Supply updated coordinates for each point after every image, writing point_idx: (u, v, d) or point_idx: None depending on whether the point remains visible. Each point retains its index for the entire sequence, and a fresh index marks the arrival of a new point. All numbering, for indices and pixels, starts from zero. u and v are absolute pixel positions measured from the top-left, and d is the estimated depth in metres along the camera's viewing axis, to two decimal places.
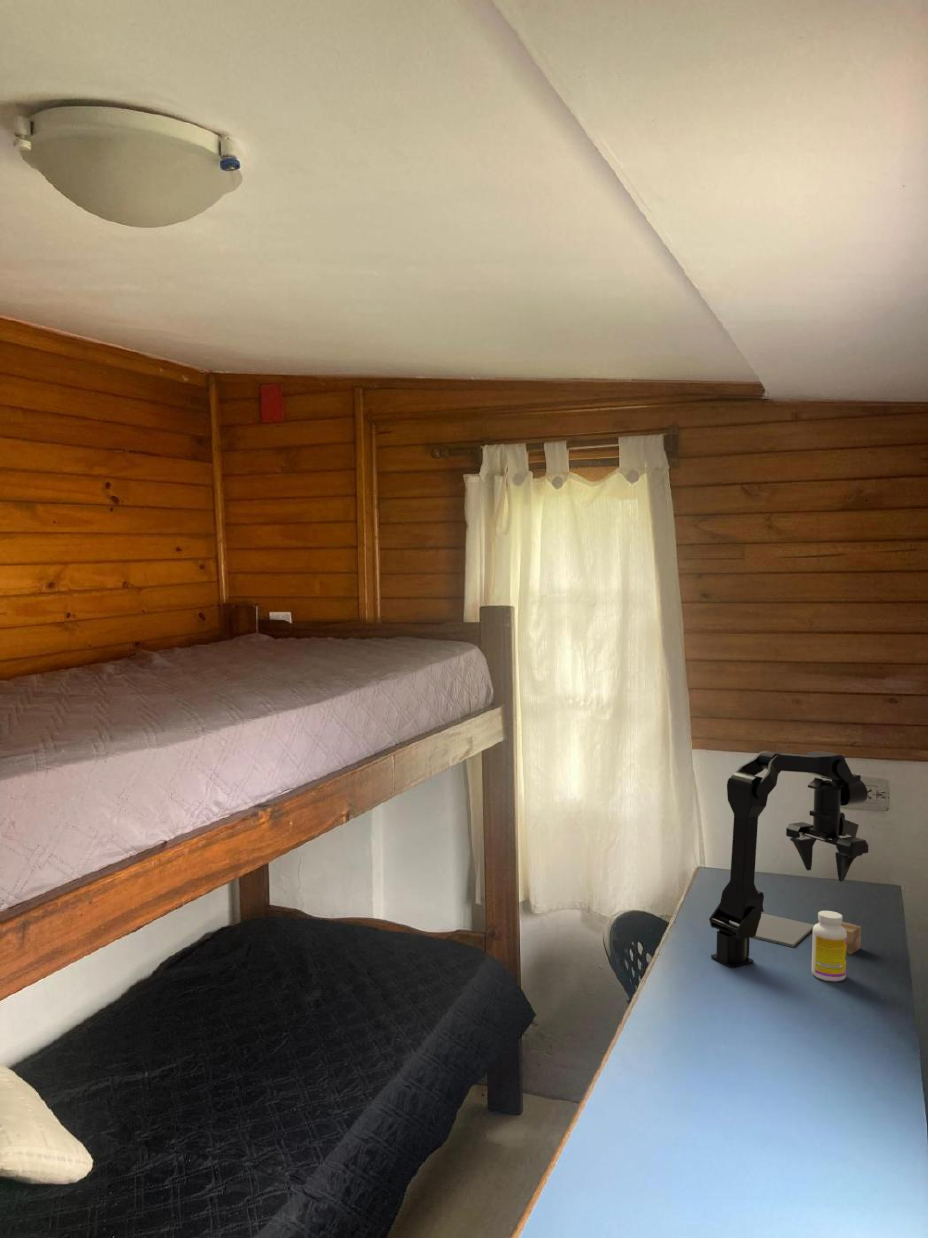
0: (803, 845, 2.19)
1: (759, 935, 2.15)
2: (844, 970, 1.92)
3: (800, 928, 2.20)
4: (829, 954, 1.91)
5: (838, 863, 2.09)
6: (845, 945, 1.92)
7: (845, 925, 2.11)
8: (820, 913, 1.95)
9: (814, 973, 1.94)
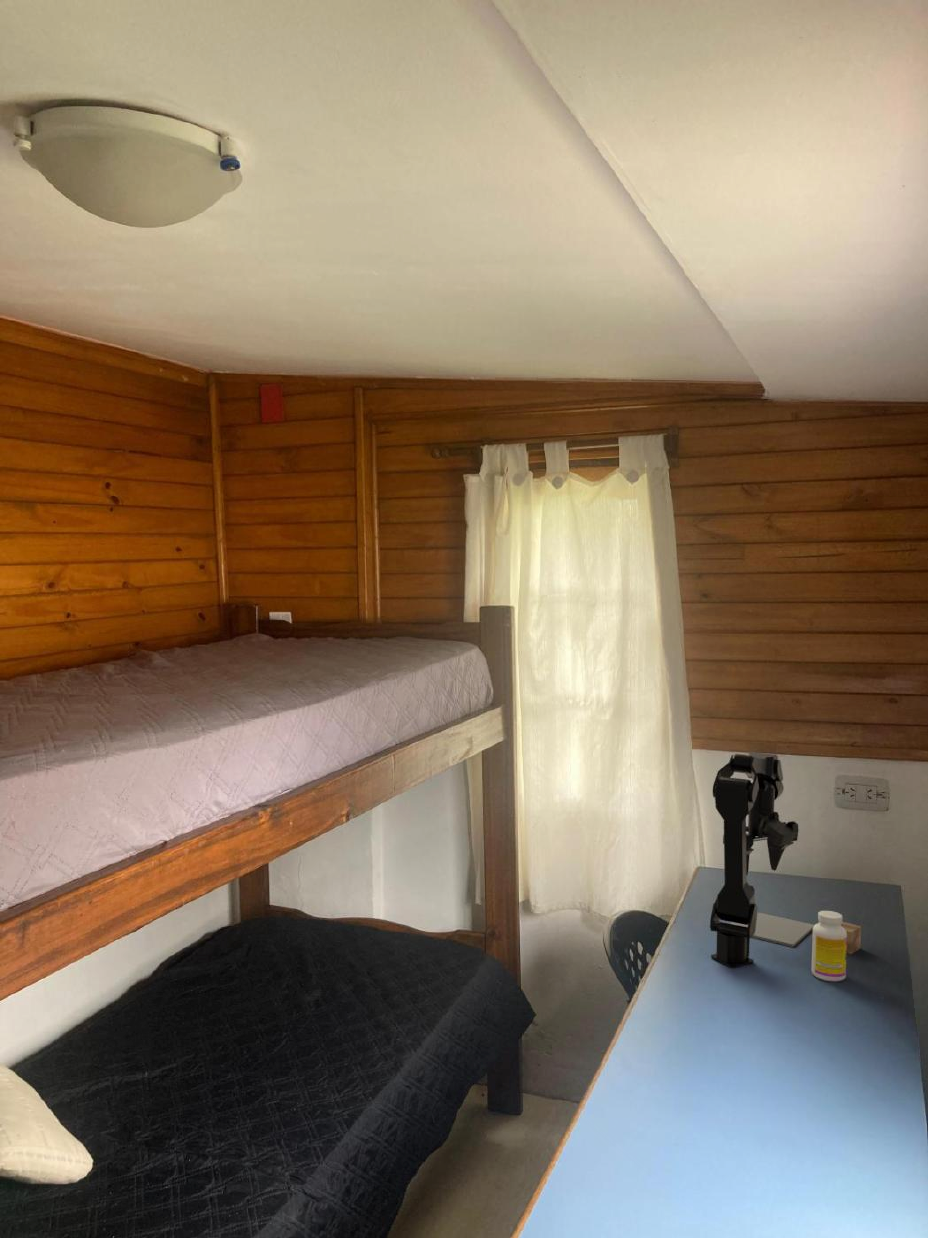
0: (770, 843, 2.25)
1: (759, 935, 2.15)
2: (844, 970, 1.92)
3: (800, 928, 2.20)
4: (829, 954, 1.91)
5: None
6: (845, 945, 1.92)
7: (845, 925, 2.11)
8: (820, 913, 1.95)
9: (814, 973, 1.94)
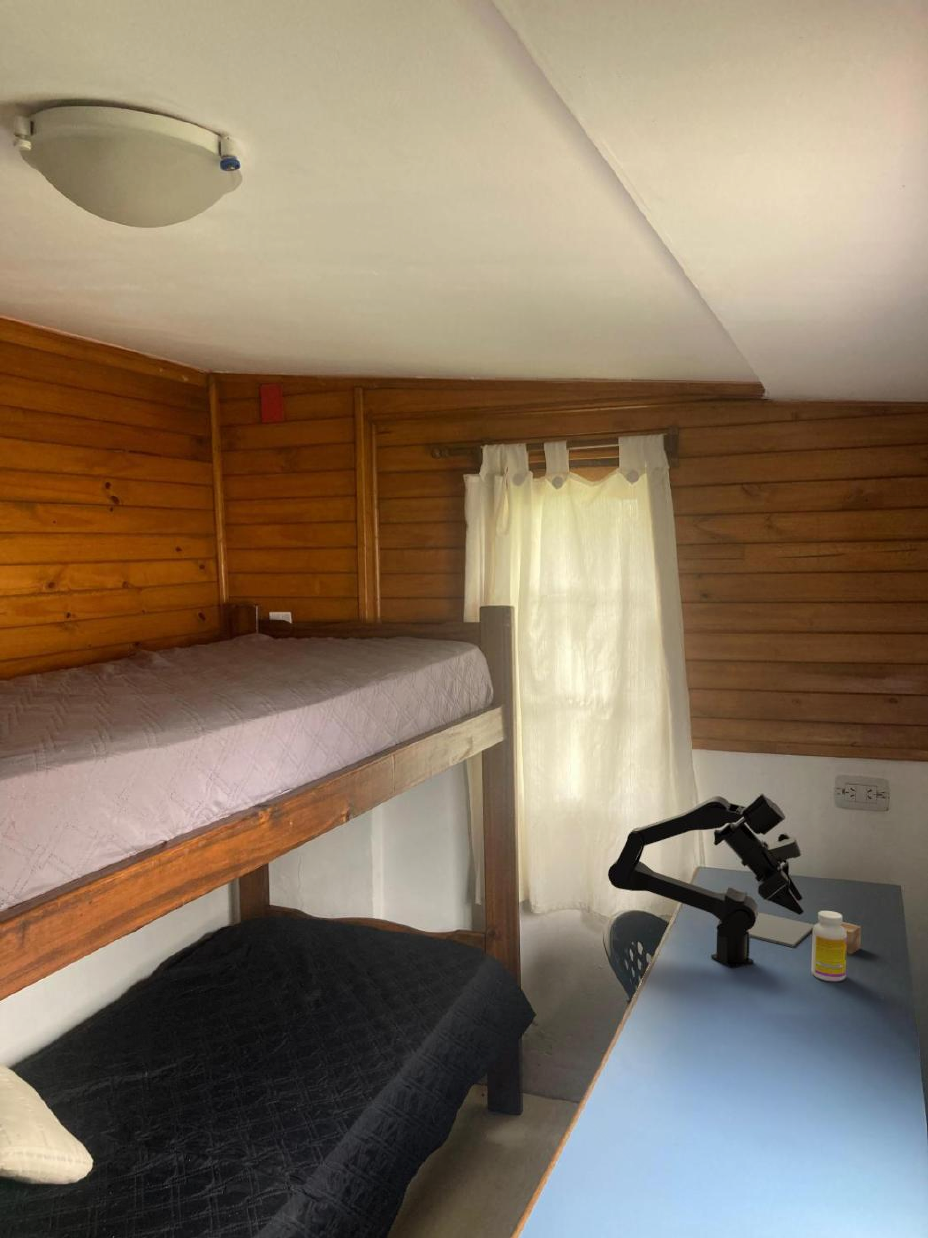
0: None
1: (759, 935, 2.15)
2: (844, 970, 1.92)
3: (800, 928, 2.20)
4: (829, 954, 1.91)
5: None
6: (845, 945, 1.92)
7: (845, 925, 2.11)
8: (820, 913, 1.95)
9: (814, 973, 1.94)
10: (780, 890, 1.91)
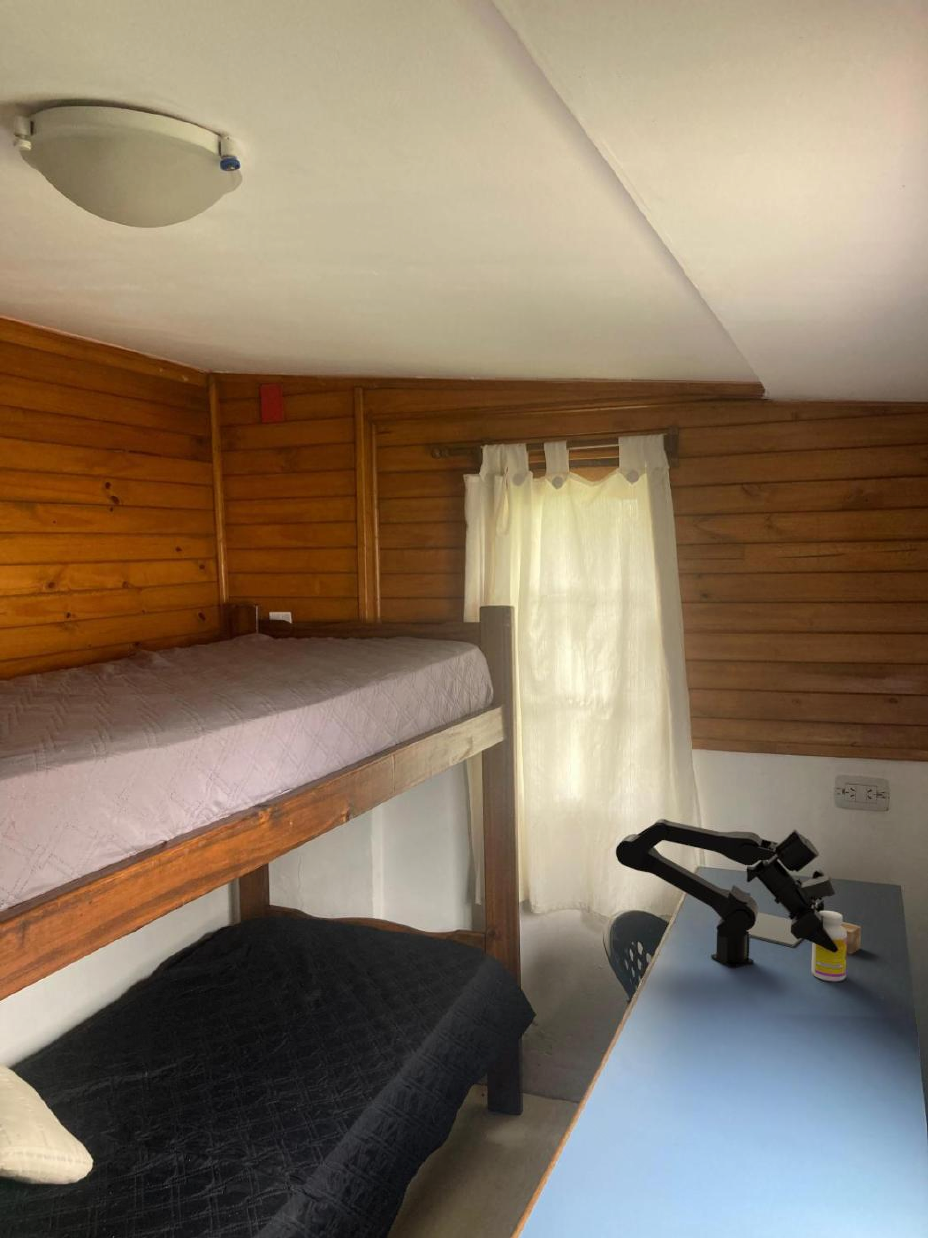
0: None
1: (759, 935, 2.15)
2: (844, 970, 1.92)
3: None
4: (829, 954, 1.91)
5: None
6: (845, 945, 1.92)
7: (845, 925, 2.11)
8: (820, 913, 1.95)
9: (814, 973, 1.94)
10: (813, 928, 1.89)
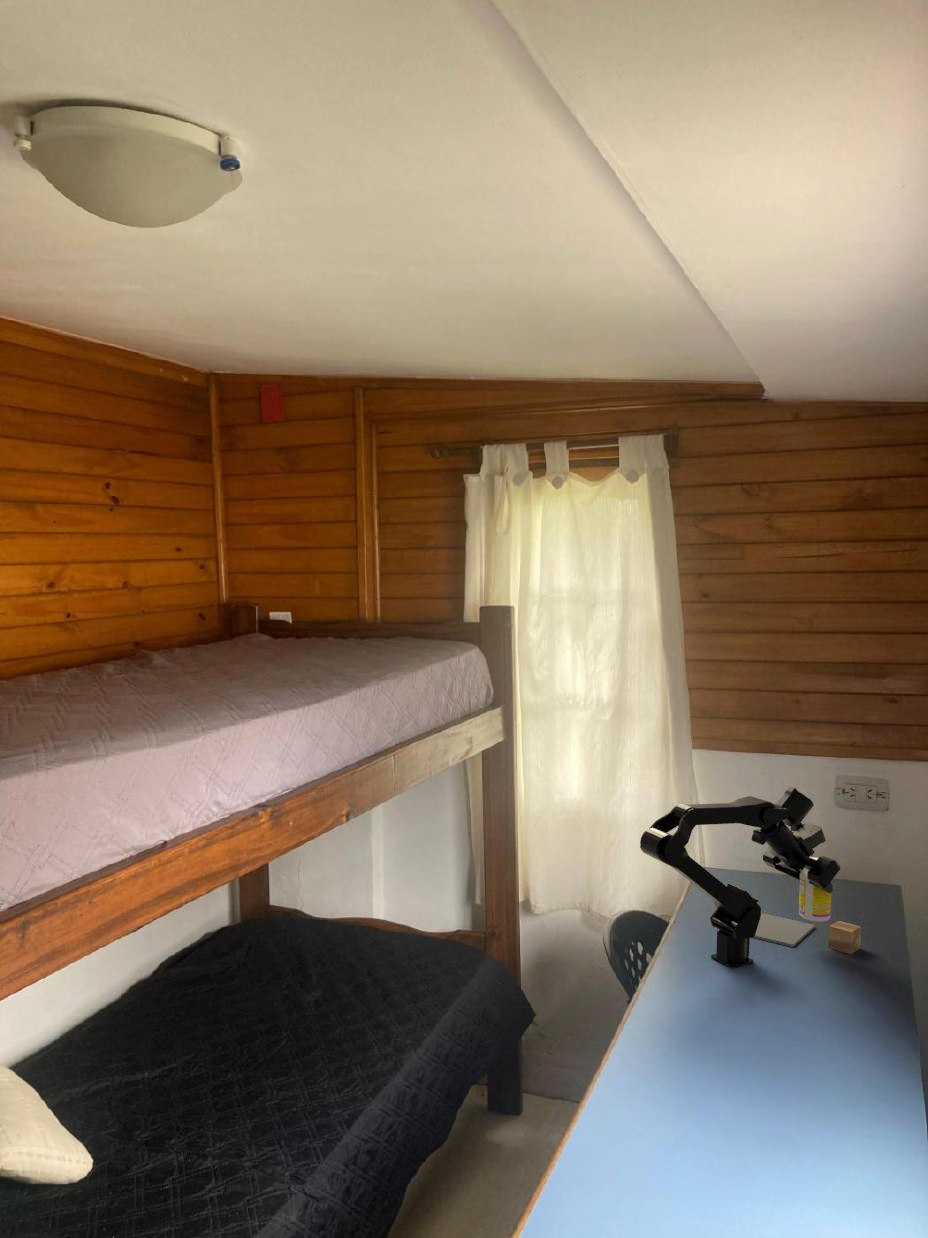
0: (789, 870, 2.12)
1: (759, 935, 2.15)
2: None
3: (800, 928, 2.20)
4: (826, 896, 2.07)
5: None
6: None
7: (845, 925, 2.11)
8: None
9: (811, 917, 2.07)
10: None
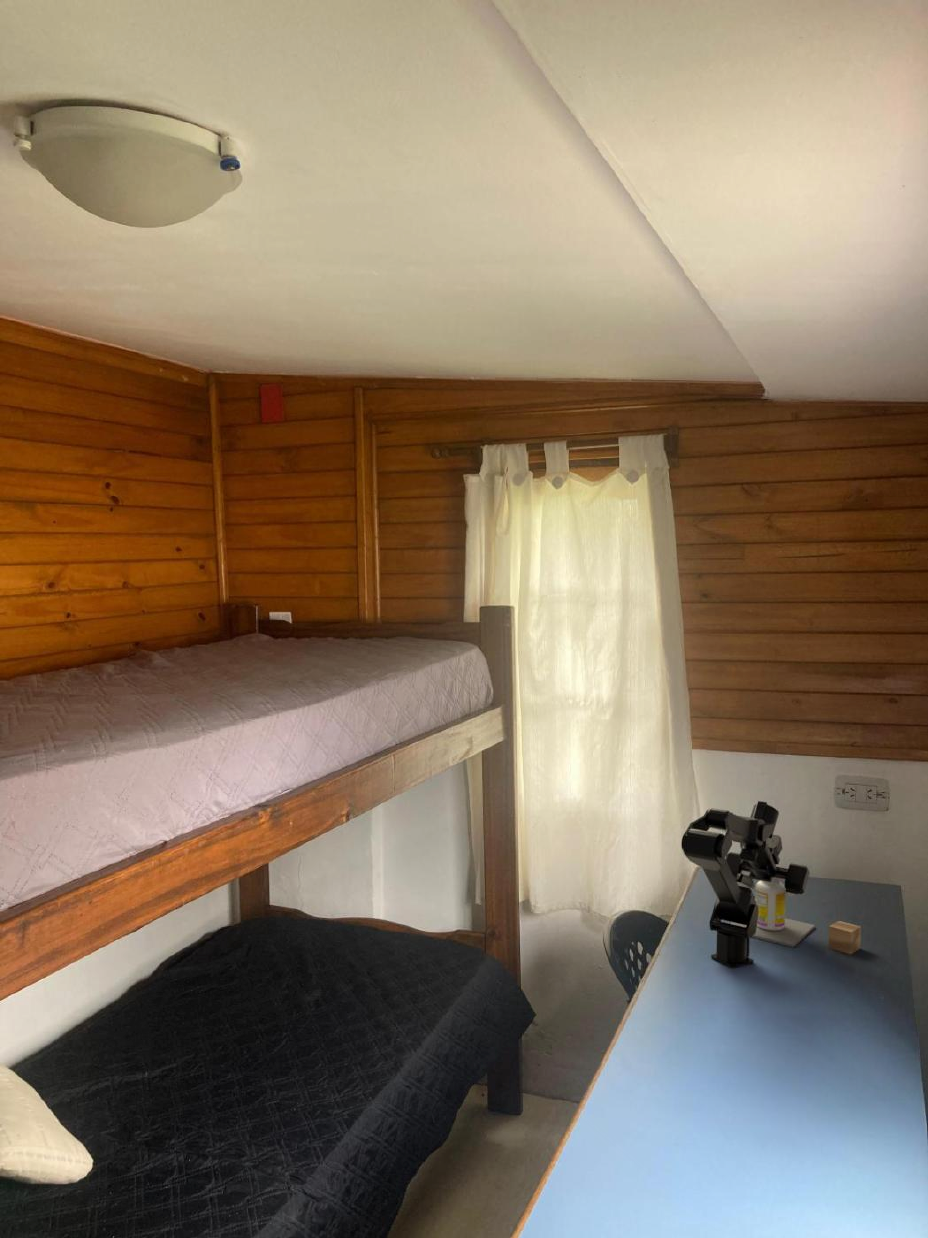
0: (744, 879, 2.21)
1: (759, 935, 2.15)
2: None
3: (800, 928, 2.20)
4: (784, 905, 2.19)
5: (789, 894, 2.15)
6: None
7: (845, 925, 2.11)
8: None
9: (773, 928, 2.18)
10: None
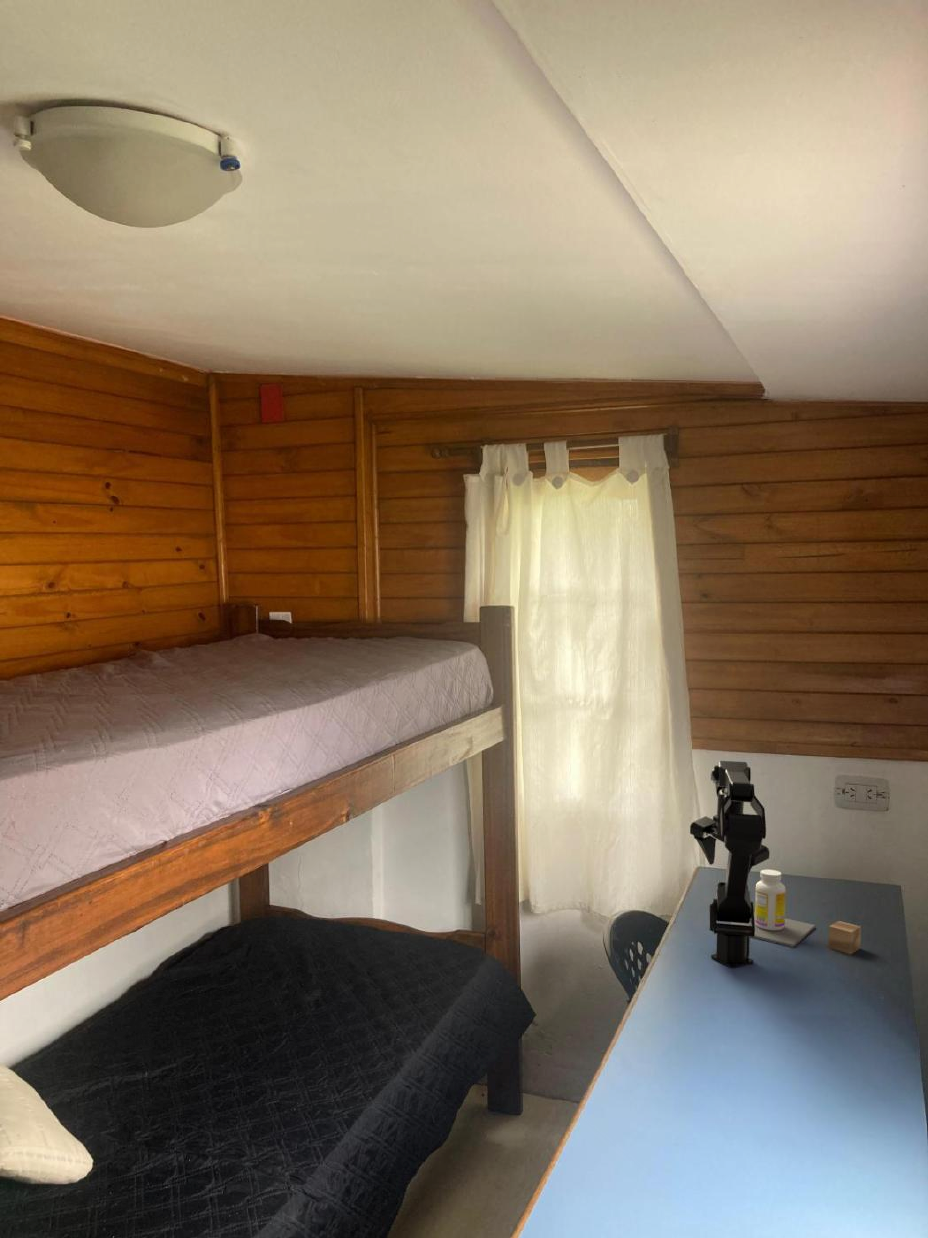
0: (706, 843, 2.20)
1: (759, 935, 2.15)
2: None
3: (800, 928, 2.20)
4: (784, 905, 2.19)
5: None
6: None
7: (845, 925, 2.11)
8: (769, 874, 2.19)
9: (773, 928, 2.18)
10: None
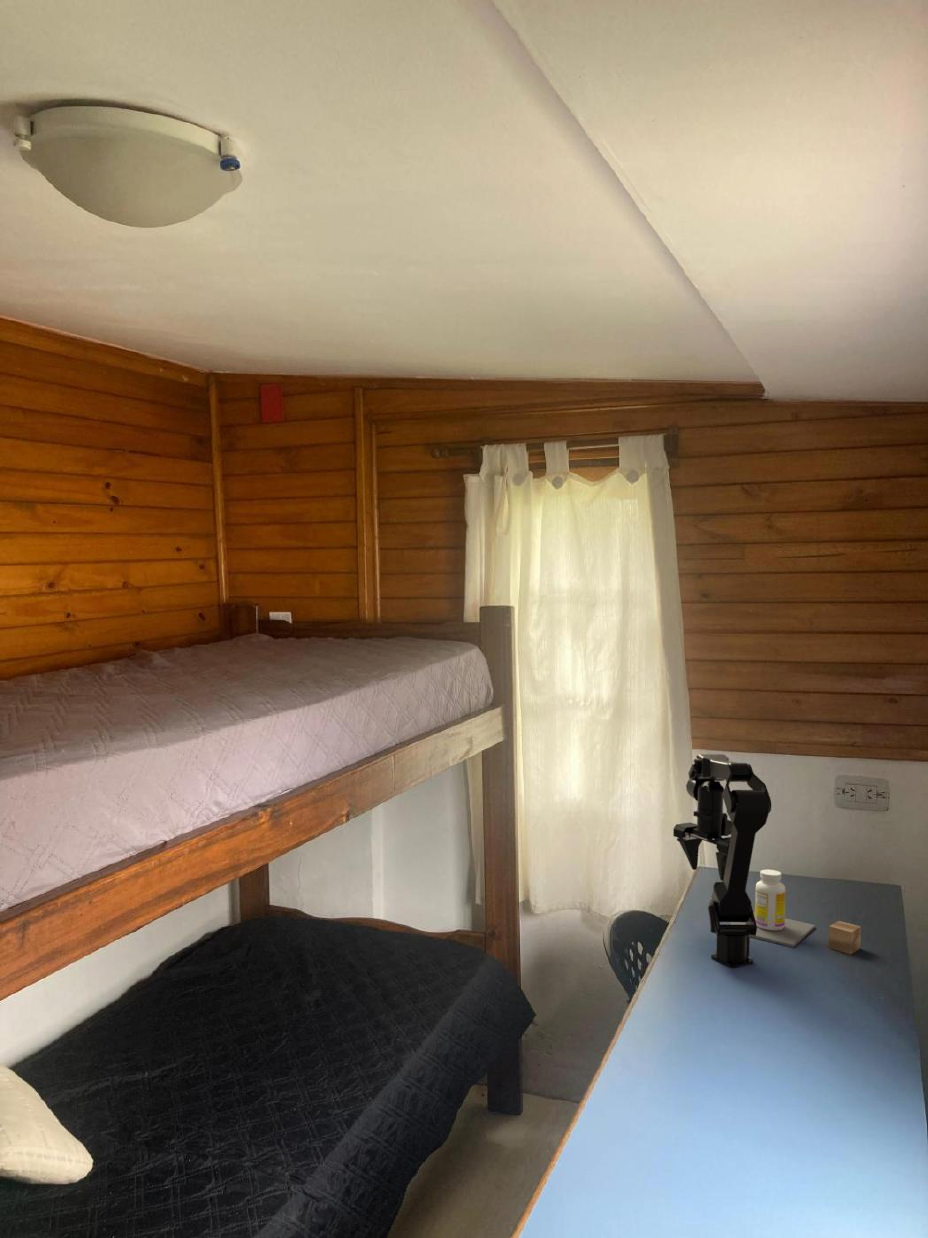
0: (689, 845, 2.23)
1: (759, 935, 2.15)
2: None
3: (800, 928, 2.20)
4: (784, 905, 2.19)
5: (719, 863, 2.13)
6: None
7: (845, 925, 2.11)
8: (769, 874, 2.19)
9: (773, 928, 2.18)
10: None
